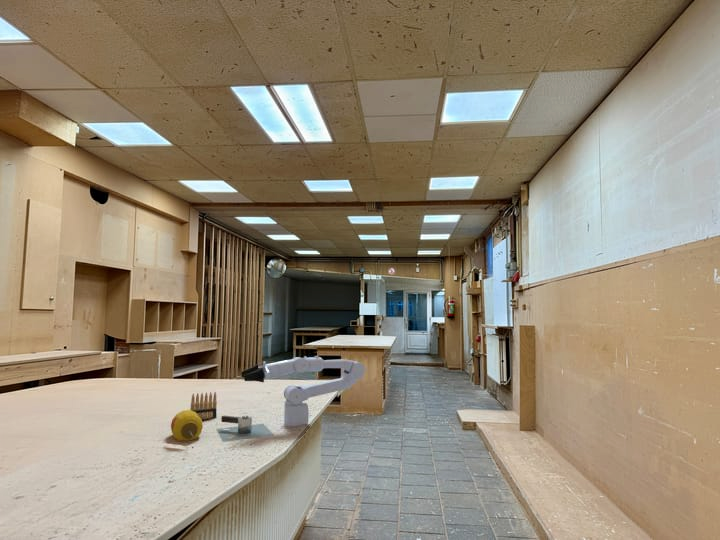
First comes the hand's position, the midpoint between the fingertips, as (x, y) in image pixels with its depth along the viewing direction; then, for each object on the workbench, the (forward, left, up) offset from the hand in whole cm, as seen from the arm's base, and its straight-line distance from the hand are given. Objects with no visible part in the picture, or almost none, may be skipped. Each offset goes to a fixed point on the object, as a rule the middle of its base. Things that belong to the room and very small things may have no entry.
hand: (242, 376), depth 158 cm
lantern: (+20, +2, -21) cm, 29 cm away
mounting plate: (0, +5, -21) cm, 22 cm away
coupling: (+2, +2, -19) cm, 20 cm away
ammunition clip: (+12, -23, -21) cm, 33 cm away
